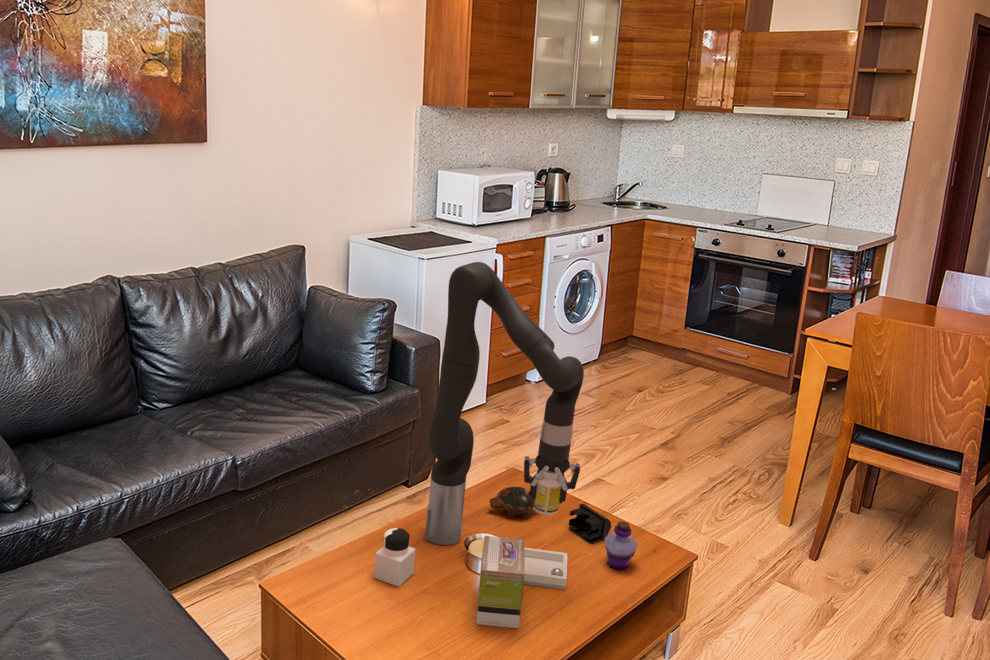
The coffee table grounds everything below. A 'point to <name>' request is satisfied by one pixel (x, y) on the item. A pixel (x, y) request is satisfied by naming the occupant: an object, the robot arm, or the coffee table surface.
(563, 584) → the tray
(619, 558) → the potion bottle
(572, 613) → the coffee table surface
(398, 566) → the medicine bottle
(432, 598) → the coffee table surface
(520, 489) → the decorative turtle
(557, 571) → the steel ball
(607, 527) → the end cap
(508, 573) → the tea box
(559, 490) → the pill bottle
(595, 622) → the coffee table surface
